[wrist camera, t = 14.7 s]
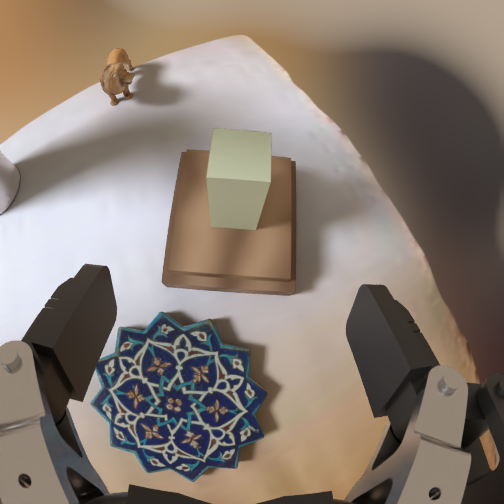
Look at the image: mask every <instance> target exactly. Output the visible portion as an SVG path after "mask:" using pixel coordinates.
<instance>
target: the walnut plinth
mask: <svg viewBox="0 0 504 504" xmlns="http://www.w3.org/2000/svg"><path fill="white" fill-rule="evenodd" d="M209 155H210V151H205V150H187V152H182V154H181V159H180V164H179V170H178V175H177V180H176V186H175V191H174V197H173V203H172V209H171V215H170V222H169V228H168V235H167V242H166V250H165V258H164V266H163V274H162V283H163V284H164V285H165V286H167V287H174V288H185V289H197V290H209V291H223V292H237V293H252V294H269V295H287V296H289V295H291V294H293V293H295V288H296V163H295V161H291V158H285V157H277V156H271V183H270V186H269V189H268V193H267V196H266V199H265V202H264V205H263V209H262V212H261V215H260V218H259V221H258V224H257V228H256V230H249V229H235V228H220V227H211V219H210V210H209V200H208V189H207V179H206V176H207V169H208V162H209Z"/></svg>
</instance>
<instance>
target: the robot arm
mask: <svg viewBox="0 0 504 504" xmlns="http://www.w3.org/2000/svg"><path fill="white" fill-rule="evenodd" d="M19 184H20V173H19V171H18V169H17V168H16V167H15V166H14V165H13V164H12V163H11V162H10V161H9V160H8V159H7V158H6V157H5V156H4V155H3V154H2V153H1V152H0V214H2V213H3V212H4V211H5V210H6V209H7V208H8V207H9V206H10V204H11V203H12V201H13V199H14V198H15V196H16V193H17V191H18V188H19ZM116 316H117V305H116V300H115V295H114V290H113V285H112V280H111V275H110V271H109V268H108V267H107V266H101V265H92V264H85V265H83V266H82V268H81V269H80V270H79V272H78V273H77V274H76V276H75V277H74V278H70V279H68V280H67V281H65V282H64V283H63V284H61V285H60V286H59V287H58V288H57V289H56V291H55V292H54V293H53V295H52V296H51V299H49V300H48V302H47V303H46V304H45V308H43V309H42V310H41V312H40V313H39V314H38V316H37V317H36V319H35V320H34V322H33V323H32V325H31V326H30V328H29V329H28V331H27V332H26V334H25V336H24V337H23V339H22V340H21V341H10V342H7V343H5V344H3V345H2V346H1V347H0V498H1V501H2V504H211V503H207V502H204V501H201V500H197V499H194V498H191V497H188V496H185V495H182V494H179V493H174V492H167V491H161V490H155V489H150V488H145V487H140V486H135V485H130V484H129V489H128V492H121V493H112V494H110V493H109V492H108V490H107V488H106V486H105V484H104V483H103V481H102V479H101V478H100V476H99V475H98V473H97V472H96V471H95V469H94V468H93V466H92V465H91V463H90V461H89V460H88V457H87V455H86V453H85V451H84V448H83V446H82V444H81V441H80V439H79V436H78V434H77V431H76V429H75V426H74V423H73V421H72V418H71V415H70V412H69V410H68V408H67V404H68V402H69V399H74V400H77V401H81V402H83V400H84V397H85V394H86V392H87V389H88V386H89V384H90V381H91V378H92V376H93V373H94V371H95V368H96V366H97V363H98V361H99V358H100V356H101V354H102V351H103V349H104V346H105V344H106V342H107V339H108V337H109V335H110V333H111V330H112V328H113V326H114V324H115V321H116ZM346 336H347V339H348V342H349V345H350V348H351V350H352V353H353V356H354V359H355V362H356V365H357V367H358V370H359V373H360V376H361V379H362V382H363V385H364V388H365V391H366V394H367V397H368V400H369V403H370V406H371V409H372V412H373V415H374V418H376V417H382V416H388V418H389V422H388V423H387V425H386V427H385V429H384V431H383V433H382V436H381V438H380V440H379V443H378V445H377V447H376V449H375V452H374V454H373V456H372V458H371V460H370V462H369V464H368V466H367V468H366V470H365V472H364V474H363V475H362V477H361V478H360V479H359V480H358V481H357V483H356V484H355V485H354V486H353V488H352V489H351V490H350V492H349V493H348V495H347V496H346V498H345V500H344V501H343V500H337V499H333V496H332V491H328V492H321V493H313V494H304V495H294V496H283V497H280V498H276V499H273V500H269V501H265V502H261V503H257V504H504V375H503V374H501V373H492V374H490V375H489V377H488V378H487V379H486V380H485V382H484V383H483V384H474V383H466V381H465V379H464V377H463V376H462V375H461V374H460V373H459V372H458V371H457V370H455V369H454V368H452V367H449V366H445V365H440V364H439V362H438V360H437V359H436V357H435V355H434V353H433V352H432V350H431V348H430V346H429V345H428V343H427V341H426V339H425V338H424V336H423V334H422V333H420V329H419V328H418V326H417V324H416V323H414V319H413V318H412V316H411V315H410V313H409V311H408V310H407V309H406V308H405V307H404V306H403V305H401V304H400V303H399V302H398V301H397V300H394V298H393V297H392V295H391V294H390V292H389V291H388V289H387V287H386V286H384V285H369V284H363V285H361V287H360V288H359V290H358V293H357V296H356V298H355V301H354V304H353V307H352V309H351V312H350V314H349V317H348V320H347V324H346ZM488 429H490V431H491V434H492V436H493V439H494V442H495V444H496V447H497V450H498V453H499V456H500V461H499V464H498V466H497V468H496V469H495V470H494V471H492V470H491V469H490V468H489V465H488V462H487V459H486V456H485V453H484V450H483V447H482V444H481V441H480V439H479V437H480V436H482V435H483V434H484V433H485V432H486V431H487V430H488Z"/></svg>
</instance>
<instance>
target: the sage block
mask: <svg viewBox="0 0 504 504" xmlns="http://www.w3.org/2000/svg"><path fill="white" fill-rule="evenodd" d="M206 179H207V189H208V200H209V210H210V219H211V227H220V228H235V229H249V230H256V228H257V224H258V221H259V218H260V215H261V212H262V209H263V205H264V202H265V199H266V196H267V193H268V189H269V186H270V183H271V133H267V132H257V131H246V130H233V129H217V128H213V134H212V141H211V148H210V155H209V162H208V169H207V176H206Z"/></svg>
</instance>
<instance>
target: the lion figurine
mask: <svg viewBox="0 0 504 504" xmlns="http://www.w3.org/2000/svg"><path fill="white" fill-rule="evenodd" d="M123 63H124V64H127V70H126V69H124V66H123ZM132 69H133V67H132V65H131V62H130V60H129V59H128V55H127V53H126V52H125V50H124V49H120V48H116V49H115V50H113V51H112V52H111V53H110V54H109V56H108V64H107V66H106V67H105V68H104V70H103V71H102V75H101V79H100V82H101V86H102V88H103V91H104V92H105V93H107V94H108V95H109V97H110V98H111V100H112V101H111V103H110V104H111V105H113V106H114V105H116V104H117V102H118V101H117V100H118V99H117V98H116V96H115V95H117V94H120V93H122V92H123V94H124V96H125V97H126V99H130V98H131V97H132V96H133V94H131V93H130V91H129V89H128V85H131V84H132V80H133V78H134V75H135V74H133V73H129V72H127V71H130V70H132Z"/></svg>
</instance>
